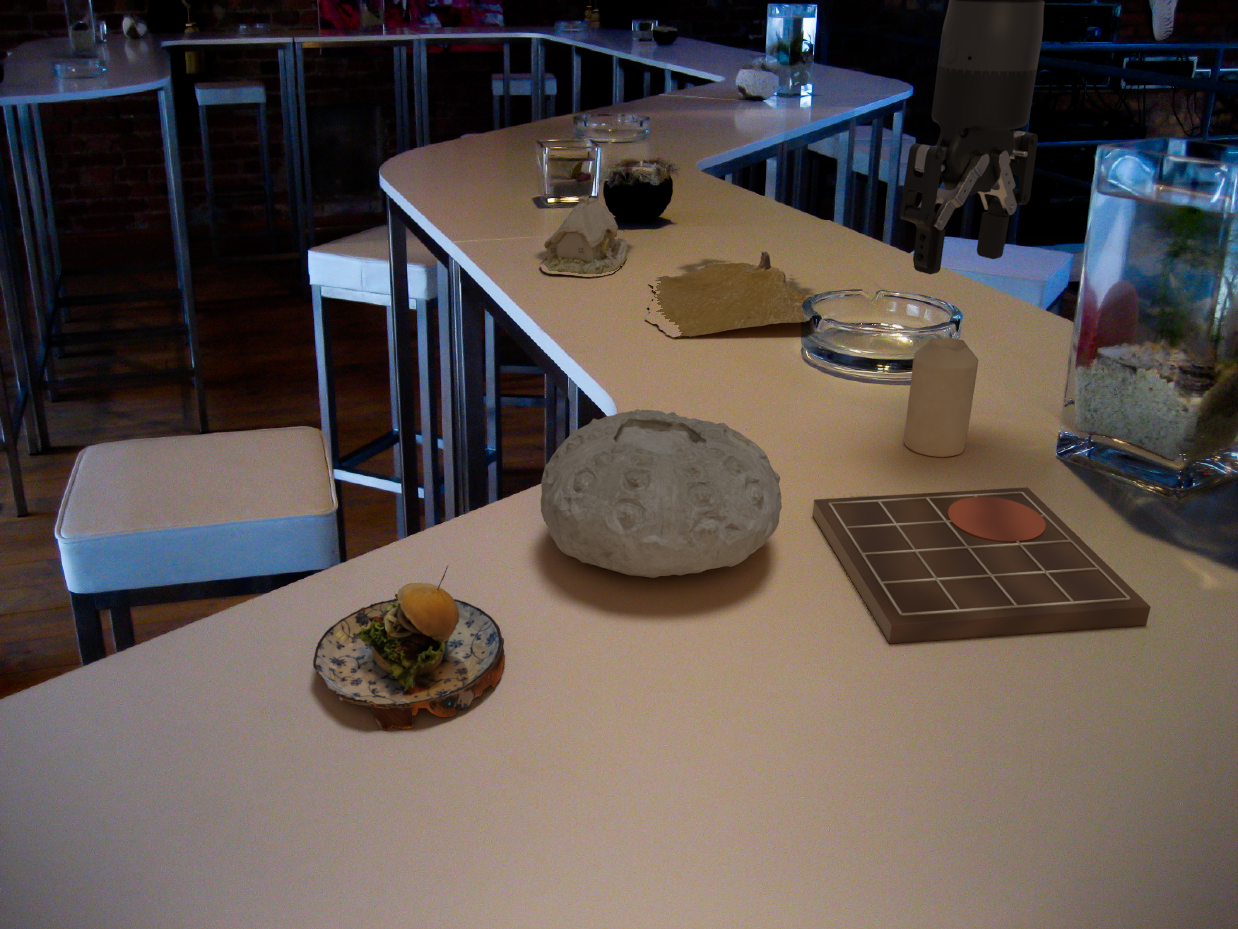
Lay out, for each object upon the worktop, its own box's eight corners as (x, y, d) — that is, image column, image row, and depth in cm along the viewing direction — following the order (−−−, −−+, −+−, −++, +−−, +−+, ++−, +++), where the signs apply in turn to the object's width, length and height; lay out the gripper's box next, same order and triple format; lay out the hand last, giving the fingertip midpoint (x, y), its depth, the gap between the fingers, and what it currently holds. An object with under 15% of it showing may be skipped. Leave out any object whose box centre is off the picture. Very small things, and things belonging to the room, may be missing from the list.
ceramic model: (600, 282, 148) (600, 209, 144) (528, 273, 152) (525, 201, 148) (639, 258, 160) (640, 189, 156) (571, 250, 164) (570, 183, 160)
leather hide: (676, 274, 156) (673, 241, 153) (859, 282, 144) (859, 246, 142) (586, 358, 134) (581, 321, 131) (794, 375, 122) (791, 334, 120)
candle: (941, 463, 96) (956, 356, 92) (891, 443, 100) (903, 340, 96) (977, 446, 99) (993, 342, 95) (927, 428, 103) (940, 327, 99)
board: (1024, 503, 89) (1028, 485, 89) (1146, 625, 73) (1151, 605, 73) (812, 515, 87) (813, 497, 87) (889, 644, 71) (892, 623, 71)
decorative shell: (705, 480, 93) (709, 370, 89) (826, 579, 79) (838, 453, 74) (509, 523, 86) (503, 406, 82) (601, 640, 72) (600, 505, 67)
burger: (365, 607, 75) (354, 512, 72) (528, 628, 73) (524, 531, 70) (279, 715, 65) (262, 609, 61) (467, 744, 62) (459, 635, 59)
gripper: (971, 71, 79) (941, 288, 86) (1081, 61, 87) (1046, 261, 94) (890, 63, 84) (868, 267, 91) (1001, 54, 92) (973, 243, 99)
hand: (958, 264), depth 92 cm, fingers open, 8 cm apart
